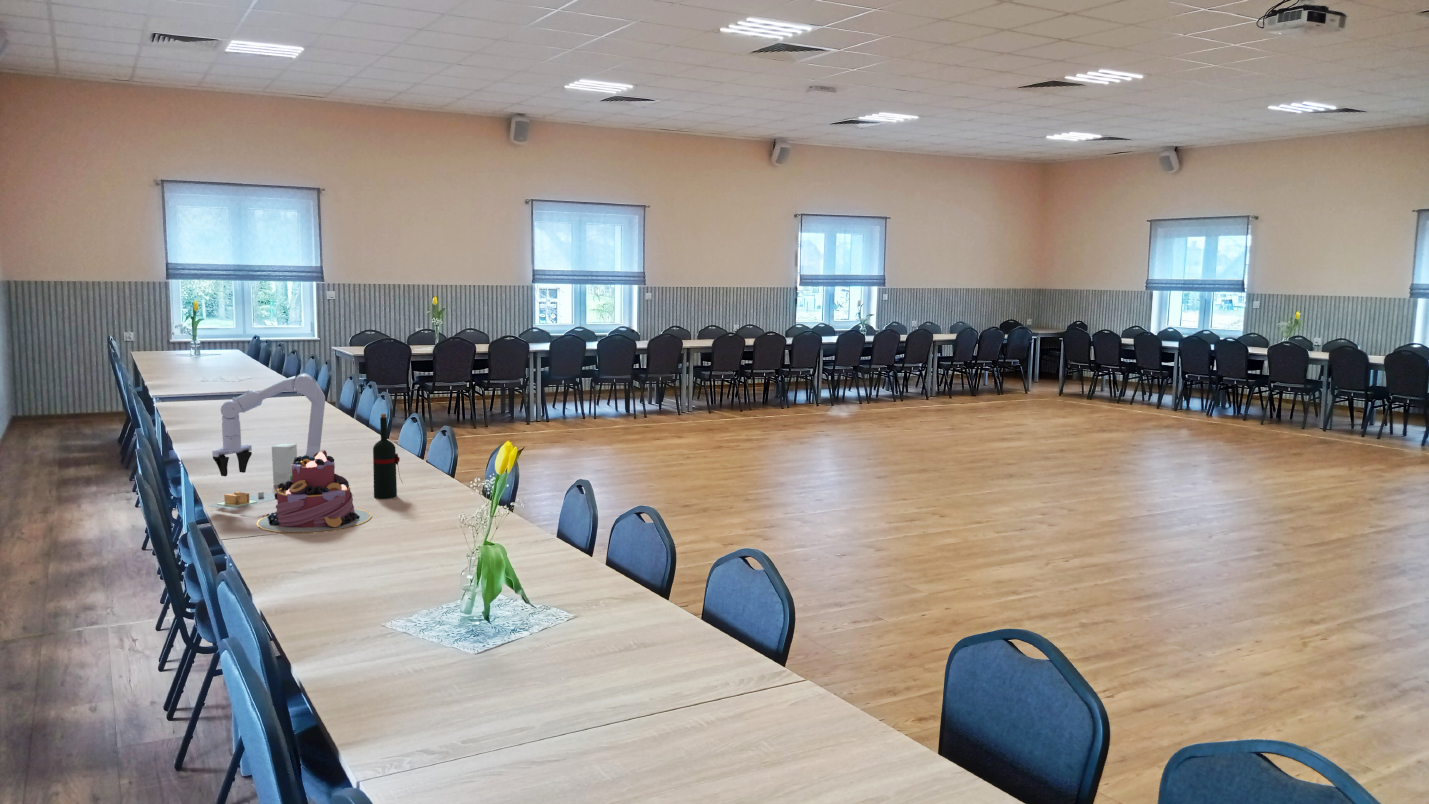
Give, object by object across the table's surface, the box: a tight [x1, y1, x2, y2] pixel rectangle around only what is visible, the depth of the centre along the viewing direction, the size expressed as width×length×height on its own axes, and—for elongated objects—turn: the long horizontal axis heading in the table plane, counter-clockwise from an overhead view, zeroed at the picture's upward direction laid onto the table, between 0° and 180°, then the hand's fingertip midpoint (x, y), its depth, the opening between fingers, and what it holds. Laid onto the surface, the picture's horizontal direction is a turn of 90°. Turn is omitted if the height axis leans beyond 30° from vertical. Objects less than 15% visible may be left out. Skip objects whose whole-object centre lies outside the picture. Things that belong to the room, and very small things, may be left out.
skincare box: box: [271, 443, 298, 487], centre depth 383 cm, size 8×7×16 cm
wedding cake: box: [256, 449, 373, 534], centre depth 332 cm, size 35×35×23 cm
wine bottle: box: [372, 413, 404, 500], centre depth 367 cm, size 8×10×30 cm
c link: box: [223, 491, 250, 505], centre depth 350 cm, size 6×5×3 cm
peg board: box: [207, 491, 276, 510], centre depth 355 cm, size 12×24×3 cm, turn 156°
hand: (233, 474), depth 355 cm, fingers open, 7 cm apart
